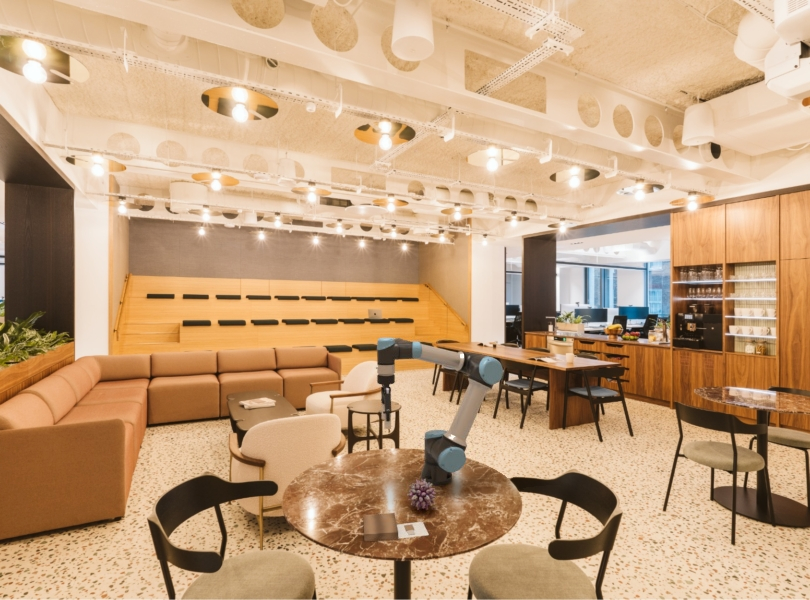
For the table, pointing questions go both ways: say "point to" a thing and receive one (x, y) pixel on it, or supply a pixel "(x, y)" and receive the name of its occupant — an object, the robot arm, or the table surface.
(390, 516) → the base brick
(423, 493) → the flower
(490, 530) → the table surface
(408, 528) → the page
